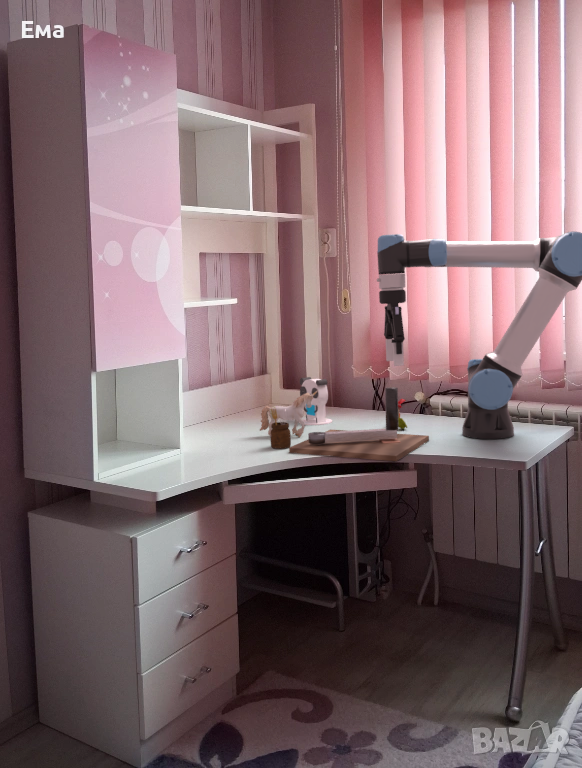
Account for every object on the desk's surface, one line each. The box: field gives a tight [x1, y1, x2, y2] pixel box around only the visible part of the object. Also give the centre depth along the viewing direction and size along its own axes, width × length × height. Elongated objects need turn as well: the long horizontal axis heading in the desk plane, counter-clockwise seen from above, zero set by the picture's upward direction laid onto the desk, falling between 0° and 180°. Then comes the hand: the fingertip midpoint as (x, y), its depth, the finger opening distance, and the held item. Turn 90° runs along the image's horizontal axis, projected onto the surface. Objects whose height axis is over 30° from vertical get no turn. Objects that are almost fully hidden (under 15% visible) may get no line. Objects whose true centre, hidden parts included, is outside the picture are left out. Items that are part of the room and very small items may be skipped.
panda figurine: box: [299, 376, 333, 426], centre depth 272 cm, size 12×11×15 cm
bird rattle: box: [398, 398, 408, 430], centre depth 256 cm, size 6×11×9 cm
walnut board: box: [288, 429, 430, 462], centre depth 231 cm, size 32×28×2 cm
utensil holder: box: [269, 408, 292, 450], centre depth 233 cm, size 6×6×12 cm
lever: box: [307, 386, 399, 444], centre depth 228 cm, size 26×5×14 cm, turn 97°
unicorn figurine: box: [259, 391, 318, 438], centre depth 249 cm, size 7×20×13 cm, turn 101°
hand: (394, 363), depth 231 cm, fingers open, 13 cm apart
